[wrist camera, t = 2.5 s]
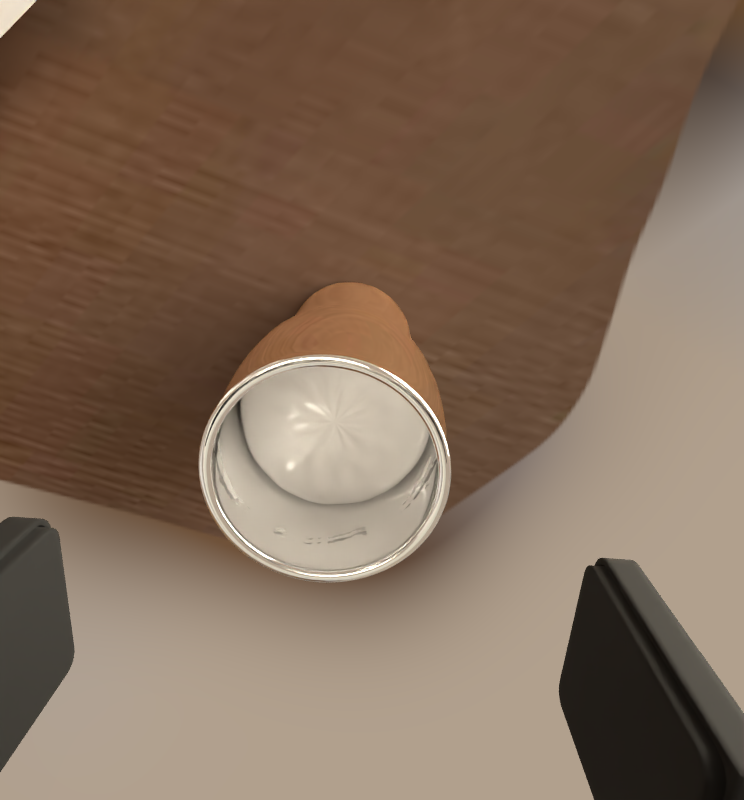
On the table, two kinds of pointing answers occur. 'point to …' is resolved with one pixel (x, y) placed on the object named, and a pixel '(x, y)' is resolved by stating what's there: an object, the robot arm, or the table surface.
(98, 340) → the table surface
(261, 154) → the table surface
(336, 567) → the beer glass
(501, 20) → the table surface
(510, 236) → the table surface
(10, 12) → the chicken leg
